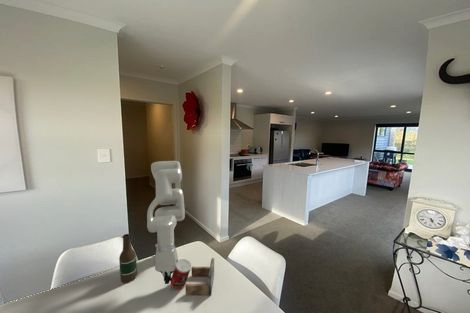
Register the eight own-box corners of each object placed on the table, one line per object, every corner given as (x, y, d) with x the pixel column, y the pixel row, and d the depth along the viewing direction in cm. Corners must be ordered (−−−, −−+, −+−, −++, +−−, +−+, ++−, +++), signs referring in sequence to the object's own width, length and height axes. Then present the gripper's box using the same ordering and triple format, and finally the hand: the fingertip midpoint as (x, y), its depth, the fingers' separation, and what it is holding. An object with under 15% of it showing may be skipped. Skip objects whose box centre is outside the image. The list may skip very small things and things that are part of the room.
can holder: (185, 295, 91) (185, 275, 90) (192, 275, 105) (191, 257, 104) (211, 295, 91) (211, 275, 90) (214, 275, 105) (214, 257, 104)
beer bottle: (117, 281, 101) (114, 237, 98) (130, 271, 108) (127, 230, 106) (127, 285, 98) (125, 240, 95) (140, 275, 105) (138, 232, 103)
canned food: (171, 291, 92) (178, 272, 90) (168, 277, 99) (174, 259, 97) (187, 288, 96) (193, 270, 94) (182, 275, 103) (188, 258, 101)
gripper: (147, 250, 92) (149, 287, 93) (178, 250, 91) (180, 287, 92) (154, 242, 99) (156, 277, 100) (183, 242, 98) (184, 277, 99)
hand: (167, 282), depth 96 cm, fingers closed
